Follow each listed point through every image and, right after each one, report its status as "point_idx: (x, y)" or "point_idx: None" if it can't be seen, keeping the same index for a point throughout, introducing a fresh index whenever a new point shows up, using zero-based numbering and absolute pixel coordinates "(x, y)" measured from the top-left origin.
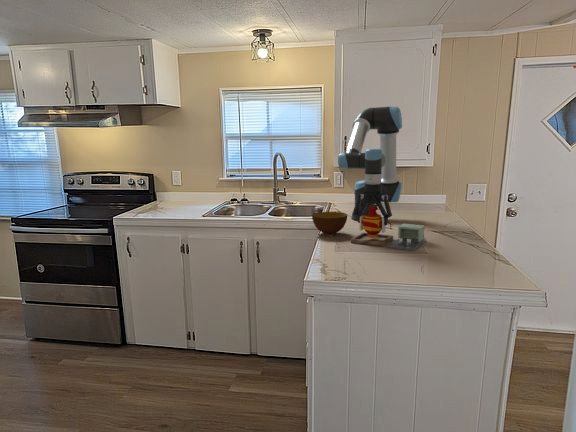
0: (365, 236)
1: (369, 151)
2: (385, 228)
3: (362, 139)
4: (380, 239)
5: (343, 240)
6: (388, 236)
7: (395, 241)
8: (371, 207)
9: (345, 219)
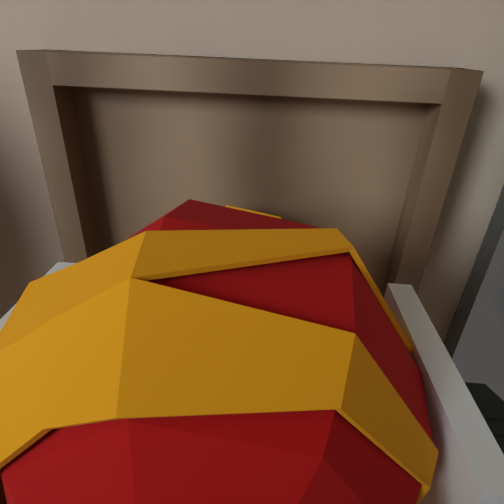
0: (109, 127)
1: None
2: (425, 317)
3: None
4: (319, 201)
5: (5, 305)
6: (410, 99)
7: (499, 263)
8: None
9: None
